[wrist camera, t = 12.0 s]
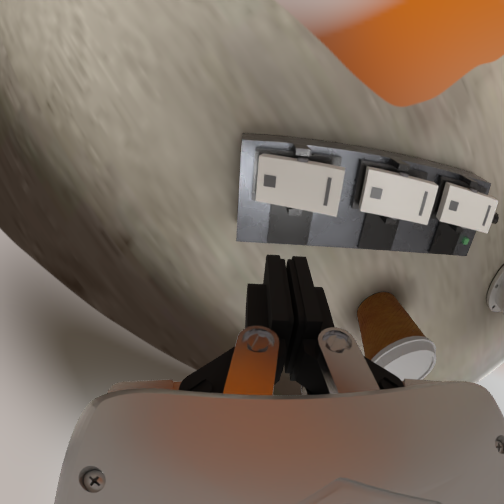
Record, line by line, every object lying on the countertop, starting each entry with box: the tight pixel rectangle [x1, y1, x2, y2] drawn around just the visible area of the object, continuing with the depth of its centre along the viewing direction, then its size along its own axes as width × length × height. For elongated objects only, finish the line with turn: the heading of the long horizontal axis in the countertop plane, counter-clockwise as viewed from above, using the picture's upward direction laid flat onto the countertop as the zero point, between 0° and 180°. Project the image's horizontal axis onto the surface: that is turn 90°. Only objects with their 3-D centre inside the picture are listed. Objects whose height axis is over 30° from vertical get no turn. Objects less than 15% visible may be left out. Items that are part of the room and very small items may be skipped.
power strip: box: [236, 133, 499, 256], centre depth 28 cm, size 35×10×6 cm, turn 86°
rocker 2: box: [359, 166, 438, 225], centre depth 24 cm, size 7×4×1 cm, turn 86°
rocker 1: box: [256, 154, 345, 217], centre depth 24 cm, size 7×4×1 cm, turn 86°
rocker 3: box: [436, 182, 498, 234], centre depth 25 cm, size 7×4×1 cm, turn 86°
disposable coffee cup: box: [357, 292, 436, 381], centre depth 35 cm, size 10×10×12 cm
